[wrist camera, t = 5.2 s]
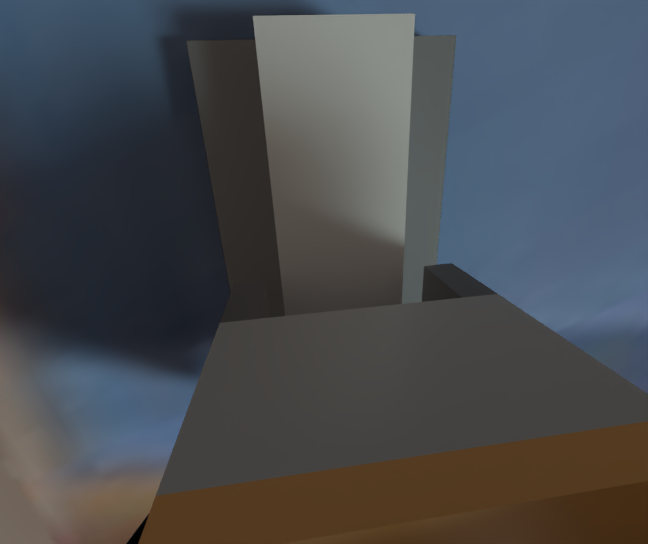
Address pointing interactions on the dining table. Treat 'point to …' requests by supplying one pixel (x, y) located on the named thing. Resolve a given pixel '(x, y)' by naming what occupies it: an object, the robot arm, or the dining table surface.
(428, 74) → the rail
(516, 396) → the block
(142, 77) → the dining table surface
